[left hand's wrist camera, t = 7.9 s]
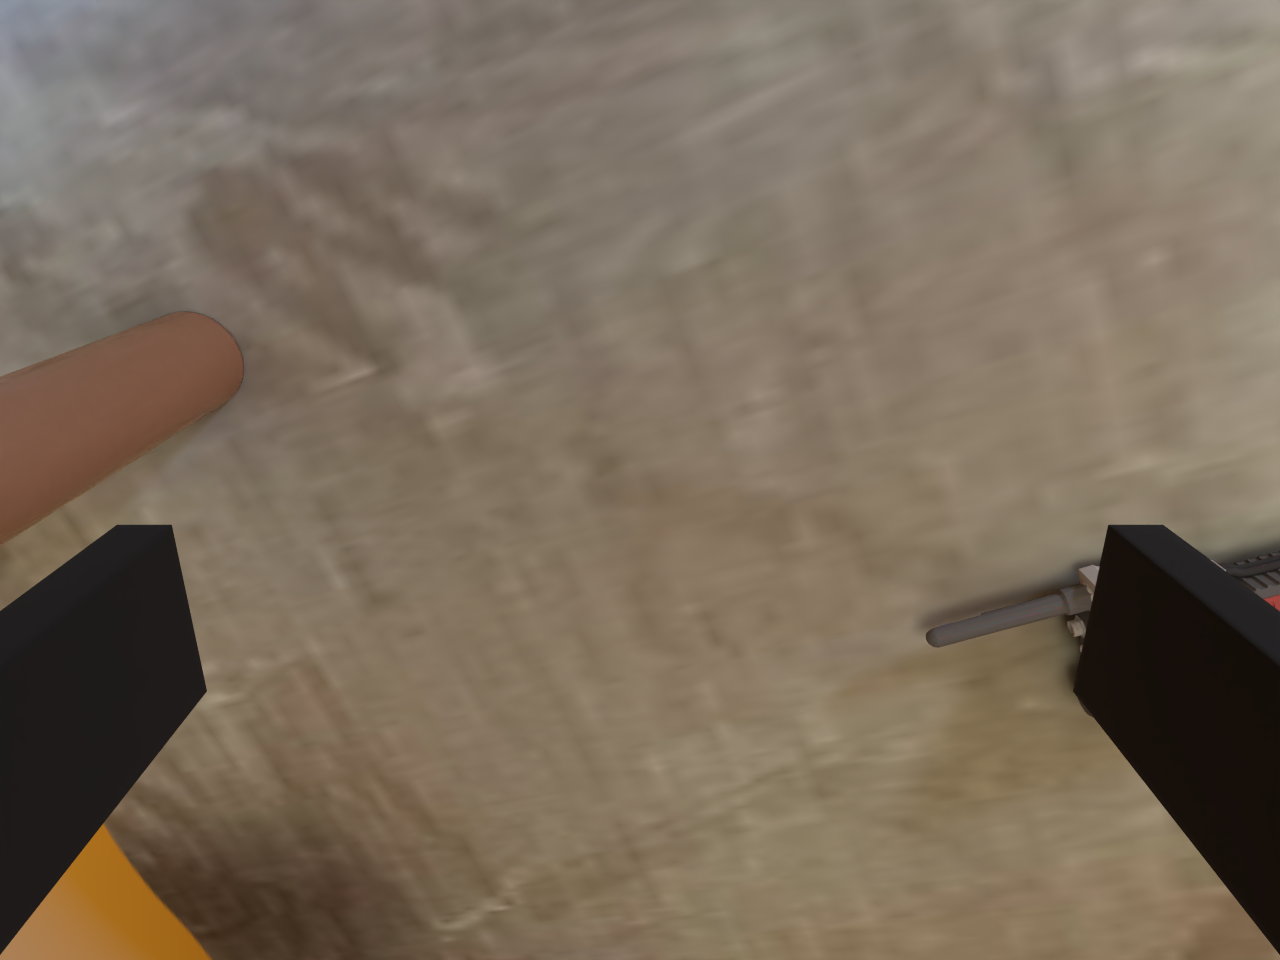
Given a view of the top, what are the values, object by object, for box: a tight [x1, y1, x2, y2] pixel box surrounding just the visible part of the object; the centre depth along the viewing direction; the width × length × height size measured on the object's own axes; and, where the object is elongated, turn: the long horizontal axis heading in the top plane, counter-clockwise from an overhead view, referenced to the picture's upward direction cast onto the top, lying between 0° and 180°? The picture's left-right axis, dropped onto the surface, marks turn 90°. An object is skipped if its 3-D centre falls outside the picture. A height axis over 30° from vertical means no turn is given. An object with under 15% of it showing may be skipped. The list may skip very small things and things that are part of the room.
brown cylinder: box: [0, 312, 243, 546], centre depth 31 cm, size 4×4×20 cm
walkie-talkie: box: [926, 551, 1280, 717], centre depth 43 cm, size 9×4×20 cm
